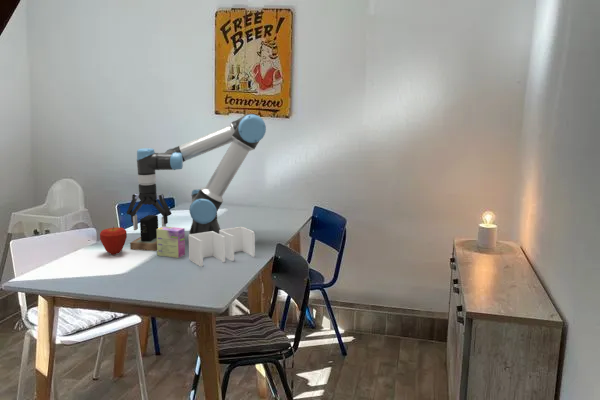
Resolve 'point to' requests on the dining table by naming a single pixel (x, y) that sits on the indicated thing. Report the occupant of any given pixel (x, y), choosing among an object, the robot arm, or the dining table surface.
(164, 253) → the box
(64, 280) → the dining table surface
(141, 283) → the dining table surface
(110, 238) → the apple
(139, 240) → the wooden tray
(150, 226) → the electronic device
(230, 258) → the white folding screen
